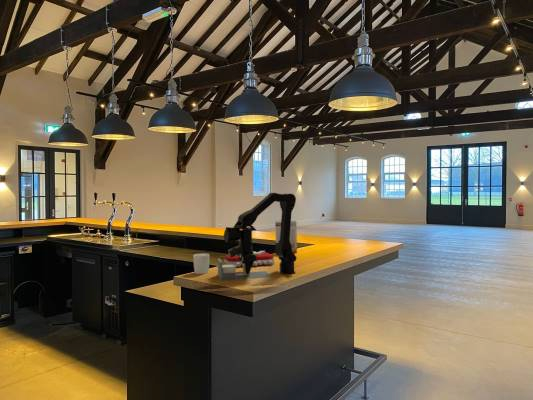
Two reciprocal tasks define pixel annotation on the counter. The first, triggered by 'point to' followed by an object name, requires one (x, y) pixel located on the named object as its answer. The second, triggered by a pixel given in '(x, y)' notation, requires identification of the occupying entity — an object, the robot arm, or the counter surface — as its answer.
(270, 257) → the word lettering
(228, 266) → the rod-linked cube pair
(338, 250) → the counter surface
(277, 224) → the cracker box
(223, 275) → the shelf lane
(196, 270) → the white cup
